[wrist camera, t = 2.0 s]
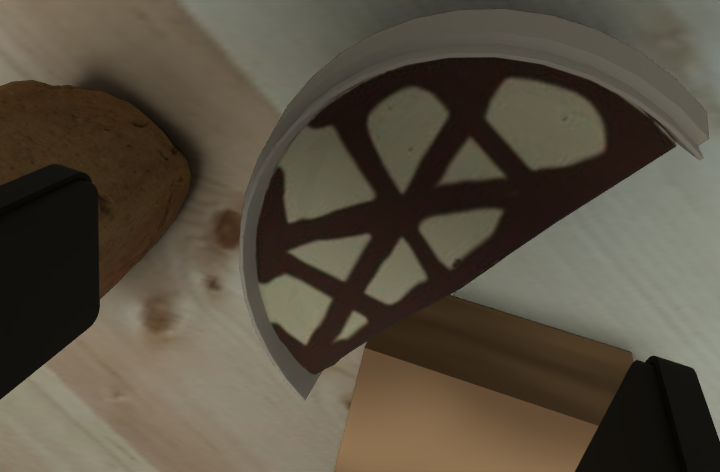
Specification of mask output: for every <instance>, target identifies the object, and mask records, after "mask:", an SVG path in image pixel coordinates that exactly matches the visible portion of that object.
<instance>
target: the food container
mask: <svg viewBox="0 0 720 472" xmlns="http://www.w3.org/2000/svg"><path fill="white" fill-rule="evenodd" d="M708 139H709V132H708V121H707V111H706V110H705V109H704V108H703V107H702V106H701V105H700V104H699V102H698V101H697V100H696V99H695V98H694V97H693V96H692V95H691V94H690V93H689V92H688V91H687V90H686V89H685V87H684V86H683V85H682V84H681V83H680V82H679V81H678V80H677V79H676V78H674V77H673V76H672V75H670V74H669V73H668V72H666V71H665V70H664V69H662V68H661V67H660V66H658V65H657V64H656V63H654V62H653V61H652V60H650V59H649V58H648V57H647V56H645V55H644V54H643V53H641V52H640V51H638V50H636V49H634V48H632V47H630V46H628V45H626V44H624V43H622V42H620V41H618V40H617V39H615V38H613V37H611V36H609V35H607V34H605V33H603V32H601V31H599V30H597V29H594V28H590V27H587V26H584V25H581V24H578V23H574V22H571V21H568V20H565V19H562V18H558V17H555V16H552V15H546V14H538V13H531V12H524V11H517V10H509V9H480V10H456V11H451V12H446V13H441V14H436V15H430V16H425V17H420V18H415V19H412V20H409V21H407V22H404V23H401V24H399V25H396V26H393V27H391V28H388V29H385V30H383V31H380V32H377V33H375V34H373V35H371V36H370V37H368V38H366V39H364V40H363V41H361V42H359V43H358V44H356V45H354V46H352V47H351V48H349V49H347V50H346V51H344V52H342V53H340V54H339V55H338V56H337V57H335V58H334V59H333V60H332V61H331V62H329V63H328V64H327V65H326V66H325V67H324V68H322V69H321V70H320V71H319V72H318V73H316V74H315V75H314V76H313V77H312V78H311V79H310V80H309V81H308V82H307V83H306V84H305V86H304V87H303V88H302V89H301V90H300V92H299V93H298V94H297V95H296V96H295V98H294V99H293V100H292V101H291V102H290V104H289V105H288V106H287V108H286V109H285V111H284V113H283V115H282V116H281V118H280V120H279V122H278V123H277V125H276V127H275V129H274V130H273V132H272V134H271V136H270V137H269V139H268V141H267V143H266V145H265V147H264V149H263V150H262V152H261V154H260V156H259V158H258V160H257V163H256V166H255V168H254V171H253V174H252V176H251V179H250V182H249V185H248V187H247V190H246V195H245V201H244V207H243V212H242V218H241V233H240V274H241V281H242V287H243V293H244V299H245V302H246V305H247V308H248V311H249V314H250V317H251V320H252V324H253V327H254V329H255V331H256V333H257V335H258V337H259V339H260V341H261V343H262V345H263V347H264V349H265V351H266V353H267V355H268V357H269V358H270V360H271V361H272V363H273V364H274V365H275V367H276V368H277V370H278V371H279V373H280V374H281V376H282V377H283V379H284V380H285V381H286V382H287V384H288V385H289V386H290V387H291V388H292V389H293V391H294V392H295V393H296V394H297V395H298V396H299V397H300V399H301V400H302V401H305V400H306V398H307V396H308V394H309V393H310V391H311V389H312V388H313V386H314V384H315V383H316V381H317V379H318V377H319V376H320V374H321V372H322V371H323V370H324V369H326V368H328V367H330V366H333V365H334V364H336V363H337V362H338V361H339V360H340V359H341V358H342V357H344V356H345V355H347V354H348V353H349V352H351V351H352V350H354V349H355V348H357V347H359V346H360V345H362V344H363V343H365V342H367V341H368V340H370V339H372V338H373V337H375V336H377V335H378V334H380V333H381V332H383V331H385V330H386V329H388V328H390V327H392V326H393V325H395V324H397V323H399V322H400V321H402V320H404V319H405V318H407V317H409V316H411V315H413V314H415V313H417V312H418V311H420V310H422V309H424V308H426V307H428V306H430V305H432V304H433V303H435V302H437V301H439V300H441V299H442V298H444V297H446V296H448V295H449V294H451V293H453V292H455V291H457V290H459V289H460V288H462V287H464V286H465V285H466V284H468V283H469V282H471V281H472V280H474V279H475V278H476V277H478V276H479V275H481V274H482V273H484V272H485V271H487V270H488V269H489V268H491V267H492V266H494V265H495V264H496V263H498V262H499V261H501V260H502V259H503V258H505V257H506V256H507V255H509V254H510V253H512V252H513V251H515V250H516V249H518V248H519V247H521V246H522V245H524V244H525V243H527V242H528V241H530V240H531V239H532V238H534V237H535V236H537V235H538V234H540V233H541V232H543V231H544V230H546V229H547V228H549V227H550V226H552V225H553V224H555V223H556V222H558V221H559V220H561V219H562V218H564V217H565V216H567V215H569V214H570V213H572V212H573V211H575V210H577V209H578V208H580V207H581V206H583V205H584V204H586V203H588V202H589V201H591V200H592V199H594V198H595V197H597V196H599V195H600V194H602V193H603V192H605V191H606V190H608V189H610V188H611V187H613V186H614V185H616V184H618V183H619V182H621V181H622V180H624V179H625V178H627V177H629V176H630V175H632V174H633V173H635V172H636V171H638V170H640V169H641V168H643V167H644V166H646V165H647V164H649V163H651V162H652V161H654V160H655V159H657V158H658V157H660V156H662V155H663V154H665V153H666V152H668V151H669V150H671V149H673V148H674V147H676V143H675V142H677V143H678V144H679V145H680V146H682V147H683V148H684V149H685V150H687V151H688V152H689V153H690V154H692V155H693V156H694V157H696V158H697V159H698V160H701V159H703V158H704V157H703V155H702V154H701V152H700V150H699V148H698V145H700V144H702V143H704V142H705V141H707V140H708Z"/></svg>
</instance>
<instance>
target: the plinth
mask: <svg viewBox="0 0 720 472" xmlns="http://www.w3.org/2000/svg"><path fill="white" fill-rule="evenodd" d="M632 363H633V358H632V353H631V352H628V351H625V350H621V349H618V348H615V347H612V346H609V345H606V344H602V343H599V342H596V341H593V340H590V339H586V338H583V337H580V336H577V335H574V334H570V333H567V332H564V331H561V330H558V329H555V328H551V327H548V326H545V325H542V324H539V323H535V322H532V321H529V320H526V319H523V318H519V317H516V316H513V315H510V314H507V313H504V312H500V311H497V310H494V309H491V308H488V307H484V306H481V305H478V304H475V303H472V302H469V301H465V300H462V299H459V298H456V297H453V296H449V295H448V296H446V297H444V298H442V299H441V300H439V301H437V302H435V303H433V304H432V305H430V306H428V307H426V308H424V309H422V310H420V311H418V312H417V313H415V314H413V315H411V316H409V317H407V318H405V319H404V320H402V321H400V322H399V323H397V324H395V325H393V326H392V327H390V328H388V329H386V330H385V331H383V332H381V333H380V334H378V335H377V336H375V337H373V338H372V339H370V340H368V341H367V344H366V346H365V348H364V352H363V357H362V361H361V365H360V369H359V373H358V377H357V381H356V385H355V389H354V393H353V397H352V401H351V405H350V409H349V413H348V417H347V421H346V425H345V429H344V433H343V437H342V441H341V445H340V449H339V454H338V458H337V462H336V466H335V470H334V472H575V470H576V468H577V466H578V464H579V462H580V461H581V459H582V457H583V455H584V453H585V451H586V449H587V447H588V445H589V443H590V442H591V440H592V438H593V436H594V434H595V432H596V430H597V428H598V426H599V424H600V423H601V421H602V419H603V417H604V415H605V413H606V411H607V409H608V407H609V406H610V404H611V402H612V400H613V398H614V396H615V394H616V392H617V390H618V388H619V387H620V385H621V383H622V381H623V379H624V377H625V375H626V373H627V371H628V369H629V368H630V366H631V364H632Z"/></svg>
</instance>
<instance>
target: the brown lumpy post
mask: <svg viewBox="0 0 720 472" xmlns="http://www.w3.org/2000/svg"><path fill="white" fill-rule="evenodd" d="M51 164H59V165H62V166H65V167H68V168H72V169H75V170H78V171H81V172H84V173H86V174H87V175H89V176H90V178H91V180H92V184H94V185H95V186H96V188H97V190H98V227H99V297H100V299H101V298H102V297H103V296H104V295H105V294H106V293H107V292H109V291H110V290H111V289H112V288H113V287H114V286H115V285H116V284H117V283H118V282H119V281H120V280H121V279H122V278H123V276H124V275H125V274H126V273H127V272H128V271H129V270H130V269H131V268H132V267H133V266H134V265H136V264H137V263H138V262H139V261H140V260H141V259H142V258H143V257H144V256H145V255H146V254H147V253H148V251H149V250H150V249H151V248H152V247H153V246H154V245H155V244H156V243H157V241H158V240H159V239H160V238H161V236H162V235H163V234H164V233H165V231H166V230H167V229H168V227H169V226H170V225H171V223H172V222H173V220H174V219H175V217H176V216H177V214H178V213H179V211H180V208H181V206H182V204H183V202H184V201H185V199H186V197H187V194H188V190H189V187H190V180H191V173H190V169H189V165H188V162H187V160H186V159H185V158H184V156H183V155H182V154H181V152H179V151H178V150H177V149H176V148H175V147H174V146H173V144H172V143H171V142H170V140H169V139H168V138H167V136H166V135H165V134H164V132H163V131H162V130H161V129H160V128H159V127H158V126H157V125H155V124H154V123H153V122H152V121H151V120H150V119H149V118H148V117H147V116H146V115H144V114H143V113H142V112H141V111H139V110H138V109H137V108H136V107H134V106H133V105H132V104H130V103H129V102H127V101H126V100H122V99H118V98H116V97H114V96H112V95H110V94H108V93H106V92H102V91H94V90H84V89H80V88H77V87H73V86H69V85H63V86H59V85H56V86H52V85H48V84H45V83H42V82H38V81H34V80H28V81H15V82H10V83H8V84H5V85H2V86H0V185H3V184H5V183H8V182H10V181H12V180H15V179H17V178H19V177H22V176H24V175H27V174H29V173H31V172H34V171H36V170H39V169H41V168H43V167H46V166H48V165H51Z"/></svg>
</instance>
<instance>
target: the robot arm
mask: <svg viewBox="0 0 720 472" xmlns="http://www.w3.org/2000/svg"><path fill="white" fill-rule="evenodd" d="M99 308H100V297H99V227H98V190H97V188H96V186H95V185H94V184H92V180H91V178H90V176H89V175H87V174H86V173H84V172H81V171H78V170H75V169H72V168H68V167H65V166H62V165H59V164H51V165H48V166H46V167H43V168H41V169H39V170H36V171H34V172H31V173H29V174H27V175H24V176H22V177H19V178H17V179H15V180H12V181H10V182H8V183H5V184H3V185H0V399H1V398H3V397H4V396H5V395H6V394H8V393H9V392H10V391H11V390H13V389H14V388H15V387H16V386H18V385H19V384H20V383H21V382H23V381H24V380H25V379H26V378H27V377H29V376H30V375H31V374H32V373H34V372H35V371H36V370H37V369H39V368H40V367H41V366H42V365H44V364H45V363H46V362H47V361H49V360H50V359H51V358H52V357H53V356H55V355H56V354H57V353H58V352H60V351H61V350H62V349H63V348H65V347H66V346H67V345H68V344H70V343H71V342H72V341H73V340H75V339H76V338H77V337H78V336H79V335H81V334H82V333H83V332H84V331H86V330H87V329H88V328H89V327H90V326H91V325H92V324H93V323H94V322H95V320H96V318H97V316H98V313H99ZM575 472H720V441H719V438H718V435H717V432H716V429H715V427H714V424H713V421H712V418H711V415H710V412H709V409H708V406H707V403H706V401H705V398H704V395H703V392H702V389H701V386H700V383H699V380H698V377H697V375H696V372H695V371H694V369H693V368H691V367H688V366H685V365H682V364H678V363H675V362H672V361H669V360H666V359H663V358H660V357H657V356H651V357H649V358H648V359H647V360H646V362H641V361H638V360H636V361H634V362H633V363H632V364H631V366H630V368H629V369H628V371H627V373H626V375H625V377H624V379H623V381H622V383H621V385H620V387H619V388H618V390H617V392H616V394H615V396H614V398H613V400H612V402H611V404H610V406H609V407H608V409H607V411H606V413H605V415H604V417H603V419H602V421H601V423H600V424H599V426H598V428H597V430H596V432H595V434H594V436H593V438H592V440H591V442H590V443H589V445H588V447H587V449H586V451H585V453H584V455H583V457H582V459H581V461H580V462H579V464H578V466H577V468H576V470H575Z"/></svg>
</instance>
